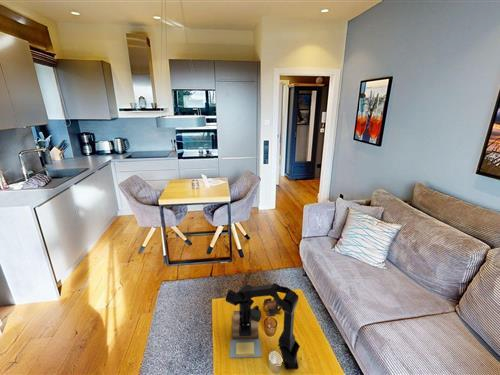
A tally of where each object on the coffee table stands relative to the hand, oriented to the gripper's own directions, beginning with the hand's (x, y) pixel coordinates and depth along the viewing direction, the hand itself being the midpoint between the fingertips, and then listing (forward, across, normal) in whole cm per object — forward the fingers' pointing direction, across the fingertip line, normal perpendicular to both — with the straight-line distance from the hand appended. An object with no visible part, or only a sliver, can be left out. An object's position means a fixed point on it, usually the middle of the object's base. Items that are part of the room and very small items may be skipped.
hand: (245, 331), depth 131 cm
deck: (+5, +7, 0) cm, 9 cm away
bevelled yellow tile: (+2, -8, 0) cm, 8 cm away
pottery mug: (+5, +19, -16) cm, 25 cm away
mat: (+5, -6, 0) cm, 8 cm away
